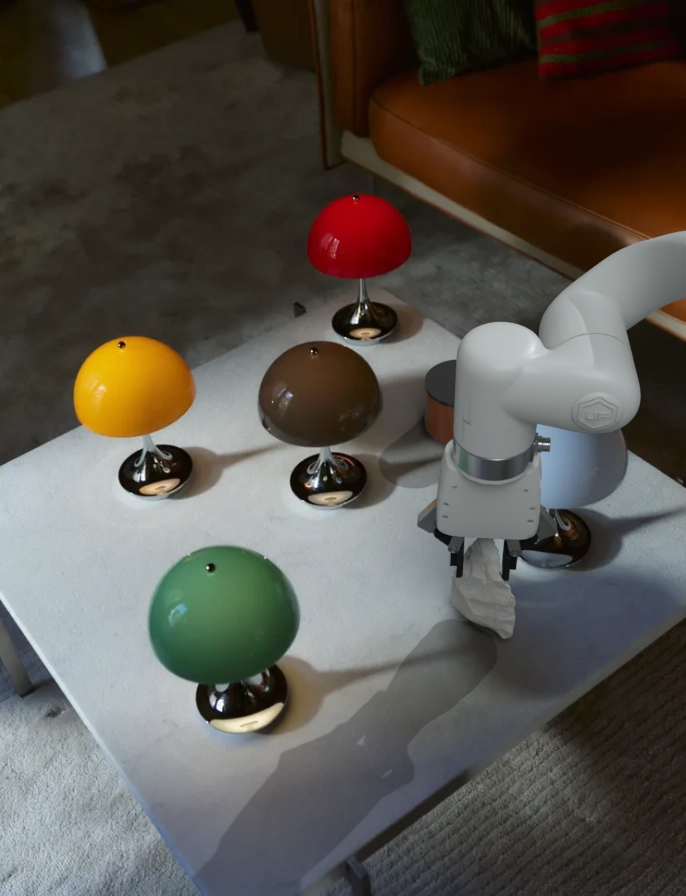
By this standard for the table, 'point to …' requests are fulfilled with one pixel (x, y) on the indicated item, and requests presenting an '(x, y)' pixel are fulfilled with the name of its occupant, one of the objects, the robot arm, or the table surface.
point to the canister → (440, 400)
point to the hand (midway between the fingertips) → (482, 568)
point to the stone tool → (484, 589)
